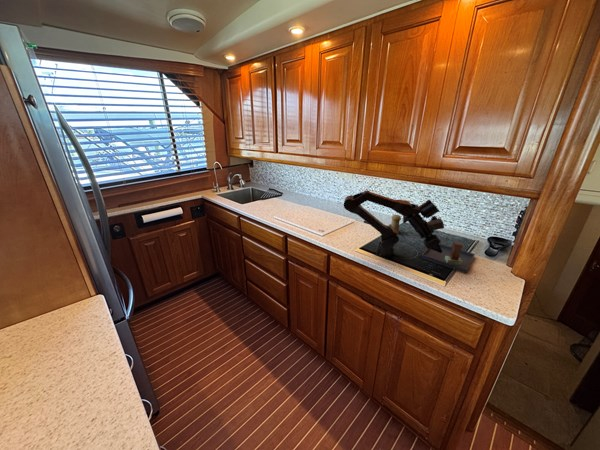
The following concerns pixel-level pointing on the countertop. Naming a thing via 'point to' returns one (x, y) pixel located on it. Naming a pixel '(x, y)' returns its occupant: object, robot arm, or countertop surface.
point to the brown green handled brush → (455, 254)
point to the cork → (396, 222)
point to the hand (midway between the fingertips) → (438, 247)
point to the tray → (446, 250)
